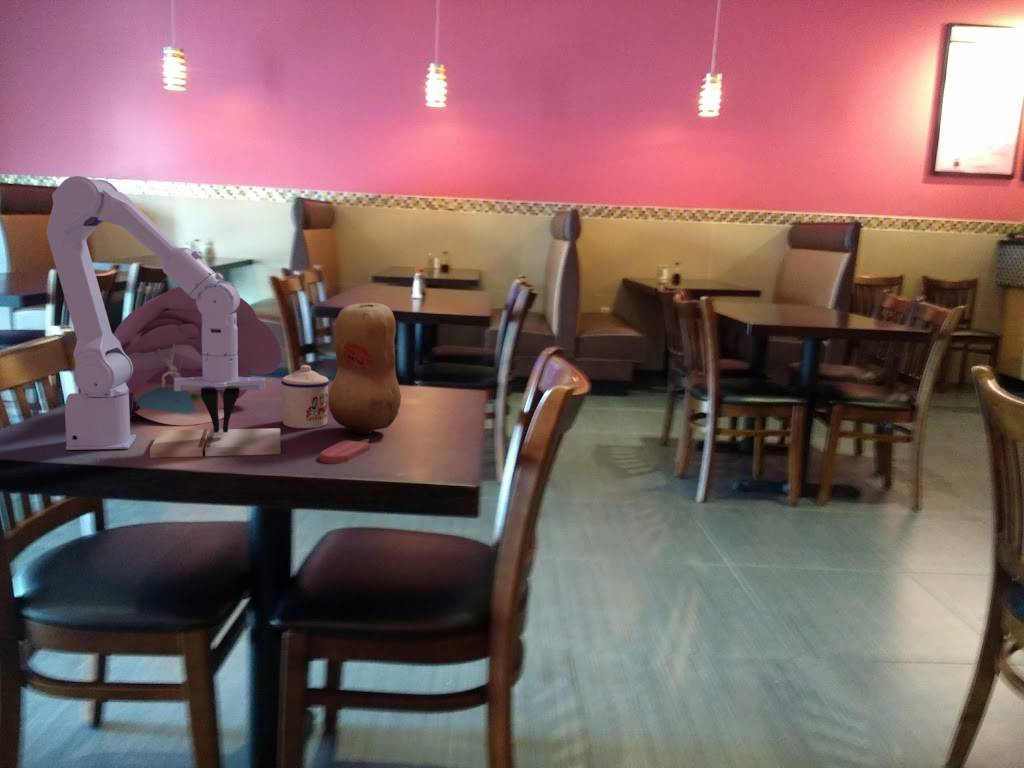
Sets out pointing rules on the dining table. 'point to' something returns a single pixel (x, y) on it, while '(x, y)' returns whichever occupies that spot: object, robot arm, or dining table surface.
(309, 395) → the teacup with lid
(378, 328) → the butternut squash
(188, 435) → the laid board
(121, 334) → the mauve lumpy shape
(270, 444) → the beige flat square block
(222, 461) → the dining table surface
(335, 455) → the popsicle
